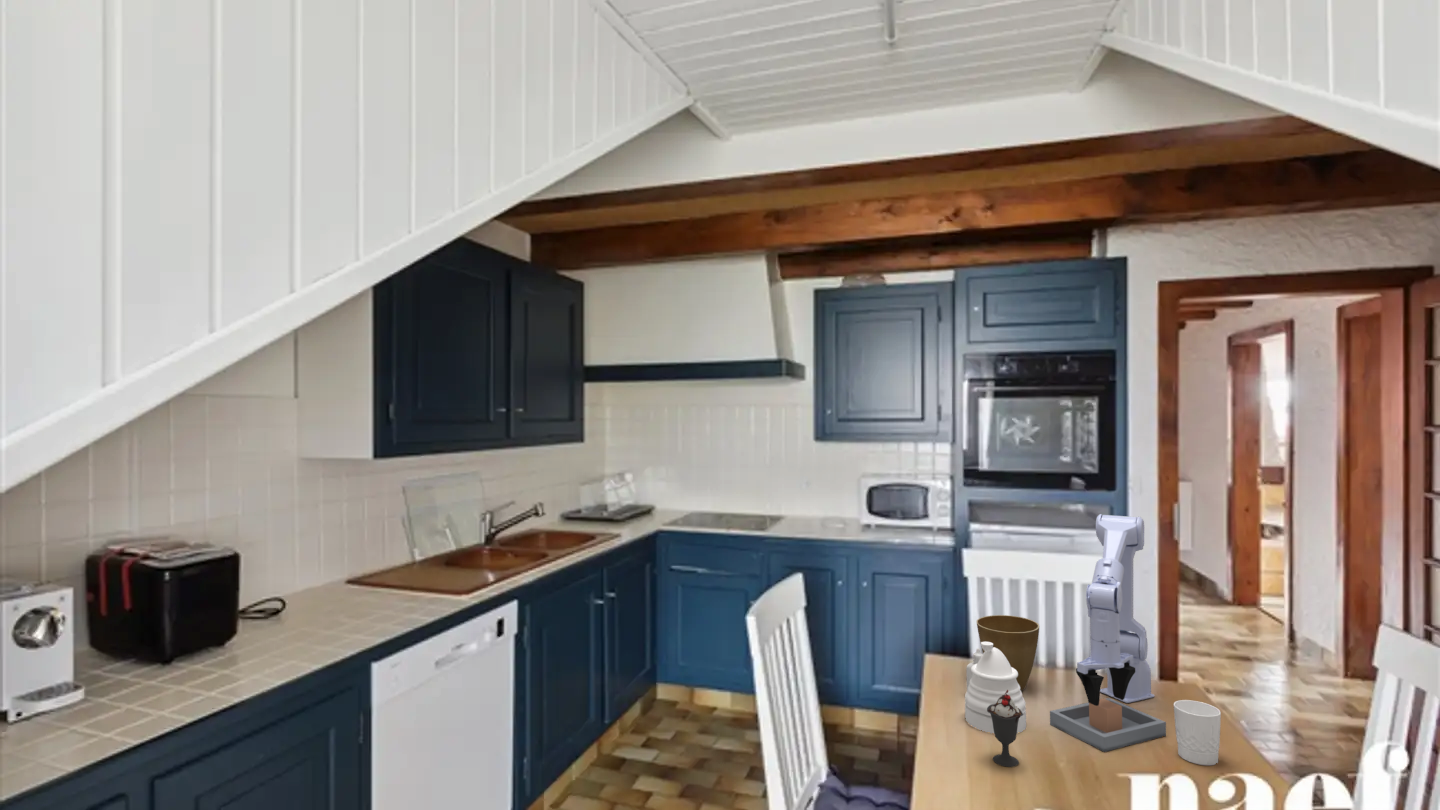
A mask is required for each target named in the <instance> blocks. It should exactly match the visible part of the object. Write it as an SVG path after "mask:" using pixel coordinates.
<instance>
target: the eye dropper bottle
mask: <svg viewBox="0 0 1440 810" xmlns="http://www.w3.org/2000/svg"><path fill="white" fill-rule="evenodd" d="M972 654H973V655H972V657H973V661H972V662H969V663H968V664H967V665H966V692H967V691H968V686H969V684H970V683H969V681H970V679H971V678H972V676H973V673H972V672H971V667H972V666H973V665H974V664H977V663H978V662H979V660H980V658H981V656H982V655H983V652H982V651H981V649H980V648H979V647H978V648H976V651H975V652H974V653H972Z"/></svg>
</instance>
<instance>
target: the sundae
mask: <svg viewBox="0 0 1440 810" xmlns="http://www.w3.org/2000/svg"><path fill="white" fill-rule="evenodd" d="M1006 693H1008V690H1007V691H1006ZM1006 693H1005V694H1006ZM987 711H988V712H989V713H990V714H991V717H992V722H993V729H994V734H993V735H994V737H995V738H996V740H997V741H998V742H999V743H1000V744H1001V747H1002V749H1001V753H999V754H996V755H994V756H993V757H992V761H993V762H994V763H995V764H997V765H998V766H1001V767H1006V768H1012V767H1017V766H1018V765H1019V764H1020V762H1019V760H1018V758H1016V757H1015V756H1012V755H1010V749H1009V748H1010V747H1009V746H1010V745H1012V744H1013V742H1014V741H1016V739H1017V735H1018V733H1017V727H1018V721H1019V718H1020V716H1022V715H1023V713H1022V711H1021V710H1020V709H1019V708H1017V706H1015V703H1014V701H1013V700H1012V699H1011V698H1010V696H1009V695H1007V694H1006V695H1002V696H1001V697H1000V698H998V700H997V702H996V704H992V705H989V706H988V708H987Z"/></svg>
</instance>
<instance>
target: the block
mask: <svg viewBox="0 0 1440 810" xmlns="http://www.w3.org/2000/svg"><path fill="white" fill-rule="evenodd" d="M1089 725H1091V726H1093V727H1096V728H1098V729H1100V730H1102V731H1104V732H1106V733H1109V732H1113V731H1117V730H1121V729H1122V706H1120V705H1118V704H1116V703H1113V702H1111V701H1108V700H1106V698H1100V701H1099V705H1098V706H1095V705H1093V704H1091V703H1089Z"/></svg>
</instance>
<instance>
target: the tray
mask: <svg viewBox="0 0 1440 810" xmlns="http://www.w3.org/2000/svg"><path fill="white" fill-rule="evenodd" d="M1105 699H1106V700H1108V701H1111V702H1113V703H1116V704H1118V705H1120V706H1122V729H1121V730H1117V731H1113V732H1109V733H1106V732H1104V731H1102V730H1100V729H1098V728H1096V727H1093V726H1091V725H1089V702H1088V701H1087V702H1085V703H1080V704H1076V705H1071V706H1067V707H1063V708H1057V709H1053V710H1049V724H1050V726H1052V727H1055V728H1056V729H1058V730H1061V731H1062V732H1064V733H1066V734H1067V735H1070V736H1071V737H1073V738H1076V739H1078V740H1080V741H1081V742H1083V743H1086V744H1087V745H1090V746H1092V747H1094V748H1095V749H1097V750H1099V751H1101V752H1104V753H1105V752H1106V753H1107V752H1110V751H1114V750H1118V749H1122V748H1125V746H1126V747H1129V745H1130V746H1132V745H1137V744H1141V743H1145V742H1148V740H1149V741H1152V739H1153V740H1155V738H1157V739H1160V738H1163V737H1162V736H1164V737H1166V736H1167V721H1164V720H1162V719H1160V718H1157V717H1155V716H1152V715H1150V714H1148V713H1146V712H1143V711H1141V710H1139V709H1136V708H1134V707H1131V706H1129V705H1127V704H1125V703H1122V702H1121V701H1120V702H1119V700H1118V701H1117V700H1115V699H1114V698H1110V697H1107V698H1105ZM1159 737H1160V738H1159ZM1144 741H1145V742H1144ZM1136 743H1137V744H1136Z"/></svg>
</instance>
